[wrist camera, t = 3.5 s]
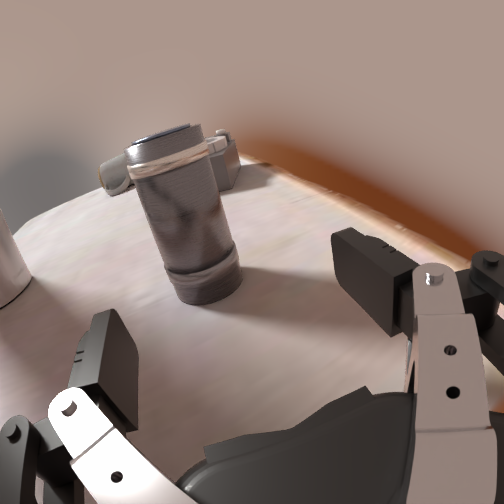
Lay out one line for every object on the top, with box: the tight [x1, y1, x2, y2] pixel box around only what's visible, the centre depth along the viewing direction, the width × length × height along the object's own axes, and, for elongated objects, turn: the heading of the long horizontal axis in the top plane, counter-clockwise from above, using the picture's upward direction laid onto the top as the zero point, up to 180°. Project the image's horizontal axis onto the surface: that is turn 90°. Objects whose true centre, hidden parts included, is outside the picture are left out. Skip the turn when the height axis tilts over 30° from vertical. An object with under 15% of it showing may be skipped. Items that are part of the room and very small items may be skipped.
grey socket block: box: [204, 129, 241, 191], centre depth 48 cm, size 10×14×7 cm
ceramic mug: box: [98, 153, 134, 196], centre depth 65 cm, size 11×8×8 cm
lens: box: [123, 124, 243, 305], centre depth 20 cm, size 5×5×11 cm
